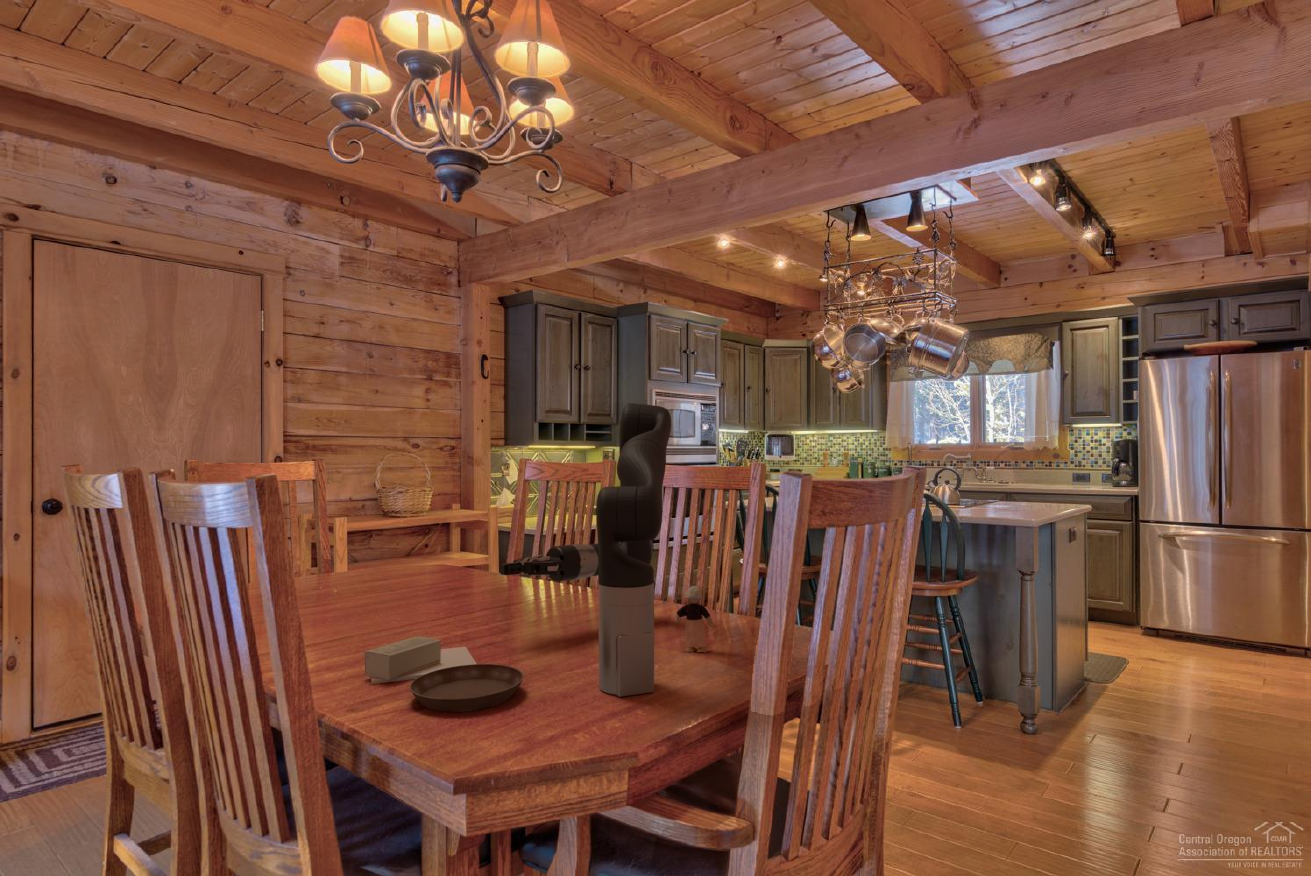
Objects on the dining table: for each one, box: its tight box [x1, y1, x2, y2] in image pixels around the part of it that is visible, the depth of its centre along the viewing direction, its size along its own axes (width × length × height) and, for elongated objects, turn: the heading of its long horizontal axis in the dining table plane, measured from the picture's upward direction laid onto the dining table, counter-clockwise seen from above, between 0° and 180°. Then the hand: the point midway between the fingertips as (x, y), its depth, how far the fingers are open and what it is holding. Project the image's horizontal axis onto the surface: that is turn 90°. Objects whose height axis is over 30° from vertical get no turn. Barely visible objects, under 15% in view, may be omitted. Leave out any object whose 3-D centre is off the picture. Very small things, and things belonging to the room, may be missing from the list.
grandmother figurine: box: [674, 585, 714, 653], centre depth 147 cm, size 8×4×13 cm, turn 84°
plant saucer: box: [409, 663, 524, 713], centre depth 120 cm, size 18×18×3 cm
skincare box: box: [364, 636, 442, 680], centre depth 133 cm, size 6×4×12 cm
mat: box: [370, 646, 477, 685], centre depth 138 cm, size 16×18×1 cm
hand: (502, 569), depth 150 cm, fingers closed
